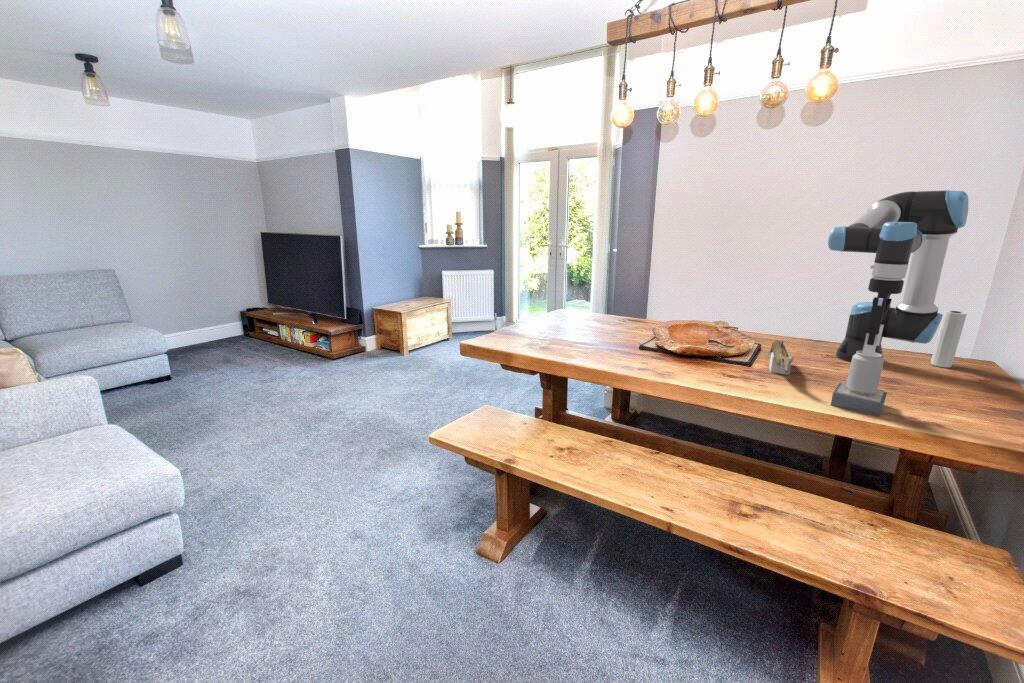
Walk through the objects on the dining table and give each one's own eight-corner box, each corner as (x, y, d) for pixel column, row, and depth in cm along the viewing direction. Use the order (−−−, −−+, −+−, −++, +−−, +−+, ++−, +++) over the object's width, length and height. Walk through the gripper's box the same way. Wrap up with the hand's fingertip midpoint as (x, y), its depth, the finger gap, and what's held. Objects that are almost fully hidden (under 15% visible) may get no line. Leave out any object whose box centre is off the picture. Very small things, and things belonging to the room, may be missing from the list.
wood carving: (770, 386, 152) (775, 355, 149) (761, 357, 183) (766, 331, 180) (801, 391, 149) (807, 358, 146) (787, 360, 180) (792, 333, 177)
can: (845, 384, 142) (853, 347, 139) (875, 389, 138) (884, 352, 135) (845, 391, 136) (854, 353, 133) (877, 397, 132) (886, 358, 129)
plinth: (837, 394, 147) (840, 380, 145) (884, 404, 139) (887, 390, 138) (830, 405, 138) (833, 391, 137) (880, 416, 130) (883, 402, 129)
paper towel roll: (939, 367, 173) (955, 313, 167) (926, 362, 179) (940, 309, 173) (958, 368, 173) (975, 313, 167) (944, 363, 178) (959, 310, 173)
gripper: (875, 272, 139) (860, 338, 145) (865, 282, 121) (848, 357, 128) (907, 274, 134) (890, 343, 140) (901, 285, 117) (882, 362, 123)
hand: (870, 349), depth 134 cm, fingers open, 13 cm apart
